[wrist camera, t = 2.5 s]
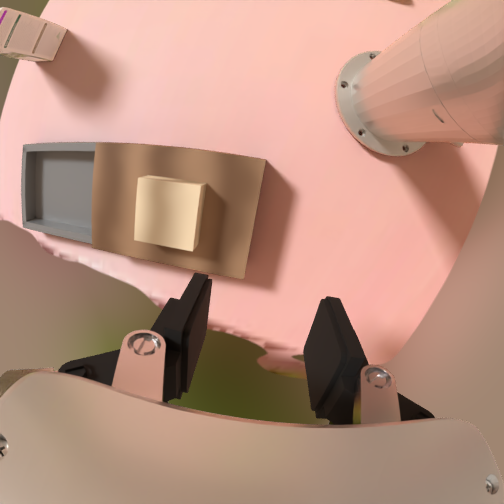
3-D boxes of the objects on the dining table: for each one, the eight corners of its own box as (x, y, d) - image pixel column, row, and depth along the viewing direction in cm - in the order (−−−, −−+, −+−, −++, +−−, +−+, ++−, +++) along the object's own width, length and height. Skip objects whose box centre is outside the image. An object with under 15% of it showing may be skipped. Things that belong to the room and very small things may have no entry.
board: (266, 159, 27) (266, 160, 23) (246, 264, 31) (243, 279, 28) (114, 142, 27) (95, 142, 23) (108, 237, 31) (92, 247, 27)
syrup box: (68, 28, 20) (4, 3, 7) (53, 62, 22) (-18, 48, 9) (47, 31, 20) (-14, 12, 6) (33, 63, 22) (-33, 53, 8)
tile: (206, 183, 24) (200, 186, 22) (199, 243, 27) (192, 251, 24) (148, 175, 24) (138, 177, 22) (144, 232, 26) (134, 240, 24)
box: (114, 142, 27) (101, 142, 24) (108, 237, 31) (96, 245, 28) (37, 143, 27) (23, 144, 24) (35, 221, 31) (23, 227, 28)
